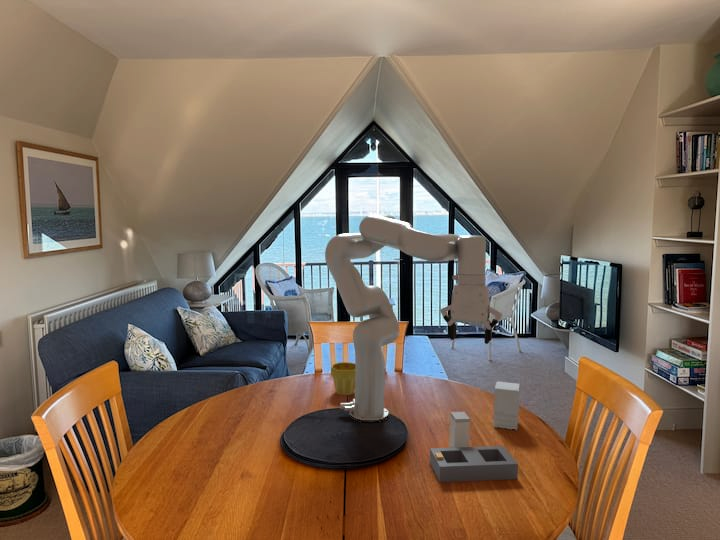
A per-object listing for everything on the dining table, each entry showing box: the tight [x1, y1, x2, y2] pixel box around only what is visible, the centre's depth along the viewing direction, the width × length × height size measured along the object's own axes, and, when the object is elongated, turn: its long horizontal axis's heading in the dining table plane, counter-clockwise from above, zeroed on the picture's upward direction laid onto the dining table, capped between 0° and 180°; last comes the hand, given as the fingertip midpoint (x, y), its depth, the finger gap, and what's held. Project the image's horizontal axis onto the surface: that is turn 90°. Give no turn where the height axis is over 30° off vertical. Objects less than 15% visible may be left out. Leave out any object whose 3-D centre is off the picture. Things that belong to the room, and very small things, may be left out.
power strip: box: [429, 445, 519, 483], centre depth 136 cm, size 20×10×5 cm, turn 96°
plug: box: [448, 411, 471, 448], centre depth 148 cm, size 4×5×10 cm
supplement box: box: [493, 381, 520, 431], centre depth 166 cm, size 7×7×13 cm
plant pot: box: [330, 361, 355, 396], centre depth 192 cm, size 10×10×10 cm
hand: (470, 340), depth 148 cm, fingers open, 9 cm apart
